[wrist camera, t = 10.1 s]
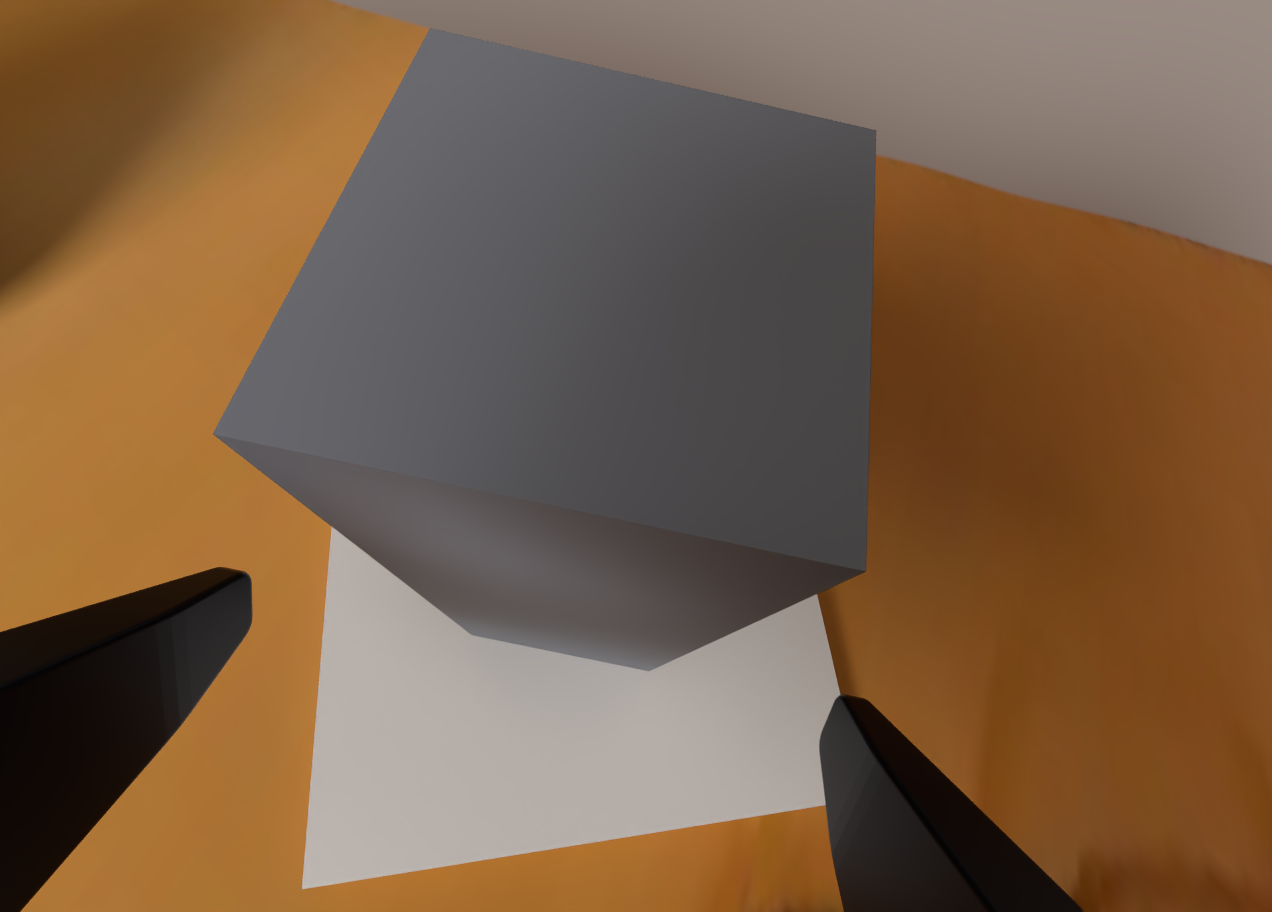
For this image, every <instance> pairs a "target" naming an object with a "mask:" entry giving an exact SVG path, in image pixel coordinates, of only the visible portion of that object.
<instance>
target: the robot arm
mask: <svg viewBox="0 0 1272 912" xmlns="http://www.w3.org/2000/svg"><path fill="white" fill-rule="evenodd" d="M251 623H252V583H251V578H250V576H249V574H248V573H246V572H244V571H240V570H235V569H230V568H225V567H217V568H213V569H210V570H206V571H203V572H200V573H196V574H193V575H189V576H186V577H183V578H179V579H176V580H173V581H169V582H166V583H163V584H159V585H156V586H153V587H149V588H146V589H143V590H139V591H136V592H133V593H129V594H126V595H123V596H119V597H116V598H113V599H109V600H106V601H103V602H99V603H96V604H93V605H89V606H86V607H83V608H79V609H76V610H73V611H69V612H66V613H63V614H59V615H56V616H53V617H49V618H46V619H43V620H39V621H36V622H32V623H29V624H26V625H22V626H19V627H16V628H12V629H9V630H6V631H2V632H0V912H20V911H21V910H22V909H23V908H24V907H25V906H26V904H27V903H28V902H29V901H30V900H31V899H32V898H33V896H34V895H35V894H36V893H37V892H38V891H39V889H40V888H41V887H42V886H43V885H44V884H45V883H46V881H47V880H48V879H49V878H50V877H51V876H52V874H53V873H54V872H55V871H56V870H57V869H58V868H59V866H60V865H61V864H62V863H63V862H64V861H65V859H66V858H67V857H68V856H69V855H70V854H71V852H72V851H73V850H74V849H75V848H76V847H77V846H78V844H79V843H80V842H81V841H82V840H83V839H84V837H85V836H86V835H87V834H88V833H89V832H90V831H91V829H92V828H93V827H94V826H95V825H96V824H97V822H98V821H99V820H100V819H101V818H102V817H103V816H104V814H105V813H106V812H107V811H108V810H109V809H110V807H111V806H112V805H113V804H114V803H115V802H116V801H117V799H118V798H119V797H120V796H121V795H122V794H123V792H124V791H125V790H126V789H127V788H128V787H129V786H130V784H131V783H132V782H133V781H134V780H135V779H136V777H137V776H138V775H139V774H140V773H141V772H142V771H143V769H144V768H145V767H146V766H147V765H148V764H149V762H150V761H151V760H152V759H153V758H154V757H155V756H156V754H157V753H158V752H159V751H160V750H161V749H162V747H163V746H164V745H165V744H166V743H167V742H168V740H169V739H170V738H171V737H172V736H173V734H174V733H175V732H176V731H177V730H178V728H179V727H180V726H181V725H182V723H183V722H184V721H185V719H186V718H187V717H188V715H189V714H190V713H191V712H192V710H193V709H194V707H195V706H196V705H197V703H198V702H199V700H200V699H201V698H202V696H203V695H204V693H205V692H206V691H207V689H208V688H209V686H210V685H211V684H212V682H213V681H214V679H215V678H216V677H217V675H218V674H219V672H220V671H221V670H222V668H223V667H224V665H225V664H226V663H227V661H228V660H229V658H230V657H231V656H232V654H233V653H234V651H235V650H236V649H237V647H238V646H239V644H240V643H241V642H242V640H243V639H244V637H245V636H246V634H247V633H248V631H249V629H250V626H251ZM819 753H820V762H821V770H822V779H823V787H824V796H825V804H826V813H827V821H828V830H829V838H830V845H831V852H832V858H833V863H834V868H835V873H836V877H837V882H838V887H839V891H840V896H841V900H842V905H843V909H844V912H1083V909H1082V908H1081V907H1080V906H1079V905H1078V904H1077V903H1076V902H1075V901H1074V900H1073V899H1072V898H1071V897H1070V896H1069V895H1068V894H1067V893H1066V892H1065V891H1064V890H1062V889H1061V888H1060V887H1059V886H1058V885H1057V884H1056V883H1055V882H1054V881H1053V880H1052V879H1051V878H1050V877H1049V876H1048V875H1047V874H1046V873H1045V872H1044V871H1043V870H1042V869H1041V868H1040V867H1039V866H1038V865H1037V864H1036V863H1035V862H1034V861H1033V860H1032V859H1031V858H1030V857H1029V856H1028V855H1026V854H1025V853H1024V852H1023V851H1022V850H1021V849H1020V848H1019V847H1018V846H1017V845H1016V844H1015V843H1014V842H1013V841H1012V840H1011V839H1010V838H1009V837H1008V836H1007V835H1006V834H1005V833H1004V832H1003V831H1002V830H1001V829H1000V828H999V827H998V826H997V825H996V824H995V823H994V822H993V821H992V820H991V819H989V818H988V817H987V816H986V815H985V814H984V813H983V812H982V811H981V810H980V809H979V808H978V807H977V806H976V805H975V804H974V803H973V802H972V801H971V800H970V799H969V798H968V797H967V796H966V795H965V794H964V793H963V792H962V791H961V790H960V789H959V788H958V787H957V786H956V785H955V784H954V783H952V782H951V781H950V780H949V779H948V778H947V777H946V776H945V775H944V774H943V773H942V772H941V771H940V770H939V769H938V768H937V767H936V766H935V765H934V764H933V763H932V762H931V761H930V760H929V759H928V758H927V757H926V756H925V755H924V754H923V753H922V752H921V751H920V750H919V749H918V748H917V747H915V746H914V745H913V744H912V743H911V742H910V741H909V740H908V739H907V738H906V737H905V736H904V735H903V734H902V733H901V732H900V731H899V730H898V729H897V728H896V727H895V726H894V725H893V724H892V723H891V722H890V721H889V720H888V719H887V718H886V717H885V716H884V715H883V714H882V713H881V712H880V711H878V710H877V709H876V708H875V707H874V706H873V705H872V704H871V703H870V702H869V701H868V700H866V699H864V698H860V697H855V696H850V695H845V694H842V695H839V696H838V697H837V698H836V699H835V701H834V703H833V706H832V708H831V710H830V713H829V715H828V718H827V720H826V722H825V725H824V727H823V730H822V732H821V735H820V740H819Z"/></svg>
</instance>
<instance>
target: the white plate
mask: <svg viewBox="0 0 1272 912" xmlns="http://www.w3.org/2000/svg"><path fill="white" fill-rule="evenodd" d="M839 695H840V691H839V687H838V682H837V678H836V674H835V669H834V665H833V661H832V656H831V652H830V648H829V643H828V639H827V635H826V631H825V626H824V622H823V618H822V613H821V609H820V605H819V600H818V596H817V594H816V595H814V596H812V597H809V598H807V599H805V600H803V601H801V602H799V603H796V604H794V605H792V606H790V607H788V608H786V609H783V610H781V611H779V612H777V613H775V614H773V615H770V616H768V617H766V618H764V619H762V620H760V621H757V622H755V623H753V624H751V625H749V626H747V627H744V628H742V629H740V630H738V631H736V632H733V633H731V634H729V635H727V636H725V637H723V638H720V639H718V640H716V641H714V642H712V643H710V644H707V645H705V646H703V647H701V648H699V649H697V650H694V651H692V652H690V653H688V654H686V655H684V656H681V657H679V658H677V659H675V660H673V661H671V662H668V663H666V664H664V665H662V666H660V667H658V668H655V669H653V670H651V671H645V670H640V669H635V668H630V667H625V666H620V665H615V664H611V663H606V662H601V661H596V660H591V659H586V658H581V657H576V656H571V655H566V654H562V653H557V652H552V651H547V650H542V649H537V648H532V647H527V646H522V645H517V644H512V643H508V642H503V641H498V640H493V639H488V638H483V637H478V636H473V635H471V634H470V633H468V632H467V631H466V630H464V629H463V628H462V627H461V626H459V625H458V624H457V623H455V622H454V621H453V620H452V619H450V618H449V617H448V616H446V615H445V614H444V613H443V612H441V611H440V610H439V609H437V608H436V607H435V606H433V605H432V604H431V603H430V602H428V601H427V600H426V599H424V598H423V597H422V596H421V595H419V594H418V593H417V592H415V591H414V590H413V589H412V588H410V587H409V586H408V585H406V584H405V583H404V582H403V581H401V580H400V579H399V578H397V577H396V576H395V575H394V574H392V573H391V572H390V571H388V570H387V569H386V568H385V567H383V566H382V565H381V564H379V563H378V562H377V561H376V560H374V559H373V558H372V557H370V556H369V555H368V554H367V553H365V552H364V551H363V550H361V549H360V548H359V547H358V546H356V545H355V544H354V543H352V542H351V541H350V540H349V539H347V538H346V537H345V536H343V535H342V534H341V533H340V532H338V531H337V530H336V529H334V528H333V527H332V530H331V542H330V555H329V567H328V579H327V591H326V603H325V615H324V628H323V640H322V652H321V664H320V676H319V688H318V701H317V713H316V725H315V737H314V749H313V762H312V774H311V786H310V798H309V810H308V822H307V835H306V847H305V859H304V871H303V883H302V889H306V888H313V887H319V886H325V885H331V884H338V883H344V882H350V881H356V880H362V879H369V878H375V877H381V876H387V875H394V874H400V873H406V872H412V871H418V870H425V869H431V868H437V867H443V866H450V865H456V864H462V863H468V862H474V861H481V860H487V859H493V858H499V857H505V856H512V855H518V854H524V853H530V852H537V851H543V850H549V849H555V848H561V847H568V846H574V845H580V844H586V843H593V842H599V841H605V840H611V839H617V838H624V837H630V836H636V835H642V834H649V833H655V832H661V831H667V830H673V829H680V828H686V827H692V826H698V825H705V824H711V823H717V822H723V821H729V820H736V819H742V818H748V817H754V816H760V815H767V814H773V813H779V812H785V811H792V810H798V809H804V808H810V807H816V806H823V805H826V804H825V796H824V787H823V779H822V770H821V762H820V753H819V740H820V735H821V732H822V730H823V727H824V725H825V722H826V720H827V718H828V715H829V713H830V710H831V708H832V706H833V703H834V701H835V699H836V698H837V697H838V696H839Z"/></svg>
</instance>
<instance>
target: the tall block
mask: <svg viewBox="0 0 1272 912" xmlns="http://www.w3.org/2000/svg"><path fill="white" fill-rule="evenodd" d="M875 161H876V130H872V129H868V128H863V127H859V126H855V125H850V124H845V123H841V122H837V121H833V120H828V119H824V118H820V117H815V116H811V115H807V114H802V113H798V112H794V111H789V110H785V109H781V108H776V107H772V106H768V105H763V104H759V103H755V102H750V101H745V100H741V99H736V98H733V97H728V96H724V95H719V94H715V93H710V92H707V91H702V90H698V89H694V88H689V87H685V86H680V85H676V84H672V83H667V82H663V81H659V80H654V79H650V78H645V77H641V76H637V75H632V74H628V73H624V72H619V71H615V70H611V69H606V68H602V67H597V66H593V65H589V64H584V63H580V62H576V61H572V60H567V59H563V58H559V57H554V56H550V55H546V54H541V53H537V52H532V51H528V50H524V49H519V48H515V47H511V46H506V45H502V44H497V43H493V42H489V41H484V40H480V39H476V38H471V37H467V36H462V35H458V34H454V33H450V32H445V31H441V30H437V29H432V28H430V29H429V31H428V33H427V35H426V37H425V39H424V41H423V42H422V44H421V46H420V48H419V50H418V52H417V54H416V55H415V57H414V59H413V61H412V63H411V65H410V67H409V69H408V70H407V72H406V74H405V76H404V78H403V80H402V82H401V83H400V85H399V87H398V89H397V91H396V93H395V95H394V97H393V98H392V100H391V102H390V104H389V106H388V108H387V110H386V112H385V113H384V115H383V117H382V119H381V121H380V123H379V125H378V126H377V128H376V130H375V132H374V134H373V136H372V138H371V140H370V141H369V143H368V145H367V147H366V149H365V151H364V153H363V154H362V156H361V158H360V160H359V162H358V164H357V166H356V168H355V169H354V171H353V173H352V175H351V177H350V179H349V181H348V182H347V184H346V186H345V188H344V190H343V192H342V194H341V196H340V197H339V199H338V201H337V203H336V205H335V207H334V209H333V210H332V212H331V214H330V216H329V218H328V220H327V222H326V224H325V225H324V227H323V229H322V231H321V233H320V235H319V237H318V239H317V240H316V242H315V244H314V246H313V248H312V250H311V252H310V253H309V255H308V257H307V259H306V261H305V263H304V265H303V267H302V268H301V270H300V272H299V274H298V276H297V278H296V280H295V281H294V283H293V285H292V287H291V289H290V291H289V293H288V295H287V296H286V298H285V300H284V302H283V304H282V306H281V308H280V309H279V311H278V313H277V315H276V317H275V319H274V321H273V323H272V324H271V326H270V328H269V330H268V332H267V334H266V336H265V338H264V339H263V341H262V343H261V345H260V347H259V349H258V351H257V352H256V354H255V356H254V358H253V360H252V362H251V364H250V366H249V367H248V369H247V371H246V373H245V375H244V377H243V379H242V380H241V382H240V384H239V386H238V388H237V390H236V392H235V394H234V395H233V397H232V399H231V401H230V403H229V405H228V407H227V408H226V410H225V412H224V414H223V416H222V418H221V420H220V422H219V423H218V425H217V427H216V429H215V431H214V433H213V435H215V436H216V437H217V438H218V439H220V440H221V441H222V442H224V443H225V444H226V445H227V446H229V447H230V448H231V449H233V450H234V451H235V452H236V453H238V454H239V455H240V456H242V457H243V458H244V459H246V460H247V461H248V462H249V463H251V464H252V465H253V466H255V467H256V468H257V469H258V470H260V471H261V472H262V473H264V474H265V475H266V476H267V477H269V478H270V479H271V480H273V481H274V482H275V483H276V484H278V485H279V486H280V487H282V488H283V489H284V490H285V491H287V492H288V493H289V494H291V495H292V496H293V497H294V498H296V499H297V500H298V501H300V502H301V503H302V504H303V505H305V506H306V507H307V508H309V509H310V510H311V511H312V512H314V513H315V514H316V515H318V516H319V517H320V518H321V519H323V520H324V521H325V522H327V523H328V524H329V525H330V526H332V527H333V528H334V529H336V530H337V531H338V532H340V533H341V534H342V535H343V536H345V537H346V538H347V539H349V540H350V541H351V542H352V543H354V544H355V545H356V546H358V547H359V548H360V549H361V550H363V551H364V552H365V553H367V554H368V555H369V556H370V557H372V558H373V559H374V560H376V561H377V562H378V563H379V564H381V565H382V566H383V567H385V568H386V569H387V570H388V571H390V572H391V573H392V574H394V575H395V576H396V577H397V578H399V579H400V580H401V581H403V582H404V583H405V584H406V585H408V586H409V587H410V588H412V589H413V590H414V591H415V592H417V593H418V594H419V595H421V596H422V597H423V598H424V599H426V600H427V601H428V602H430V603H431V604H432V605H433V606H435V607H436V608H437V609H439V610H440V611H441V612H443V613H444V614H445V615H446V616H448V617H449V618H450V619H452V620H453V621H454V622H455V623H457V624H458V625H459V626H461V627H462V628H463V629H464V630H466V631H467V632H468V633H470V634H471V635H473V636H478V637H483V638H488V639H493V640H498V641H503V642H508V643H512V644H517V645H522V646H527V647H532V648H537V649H542V650H547V651H552V652H557V653H562V654H566V655H571V656H576V657H581V658H586V659H591V660H596V661H601V662H606V663H611V664H615V665H620V666H625V667H630V668H635V669H640V670H645V671H651V670H653V669H655V668H658V667H660V666H662V665H664V664H666V663H668V662H671V661H673V660H675V659H677V658H679V657H681V656H684V655H686V654H688V653H690V652H692V651H694V650H697V649H699V648H701V647H703V646H705V645H707V644H710V643H712V642H714V641H716V640H718V639H720V638H723V637H725V636H727V635H729V634H731V633H733V632H736V631H738V630H740V629H742V628H744V627H747V626H749V625H751V624H753V623H755V622H757V621H760V620H762V619H764V618H766V617H768V616H770V615H773V614H775V613H777V612H779V611H781V610H783V609H786V608H788V607H790V606H792V605H794V604H796V603H799V602H801V601H803V600H805V599H807V598H809V597H812V596H814V595H816V594H818V593H820V592H822V591H825V590H827V589H829V588H831V587H833V586H836V585H838V584H840V583H842V582H844V581H846V580H849V579H851V578H853V577H855V576H857V575H859V574H862V573H864V572H866V551H867V508H868V464H869V421H870V378H871V334H872V291H873V248H874V204H875Z"/></svg>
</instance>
